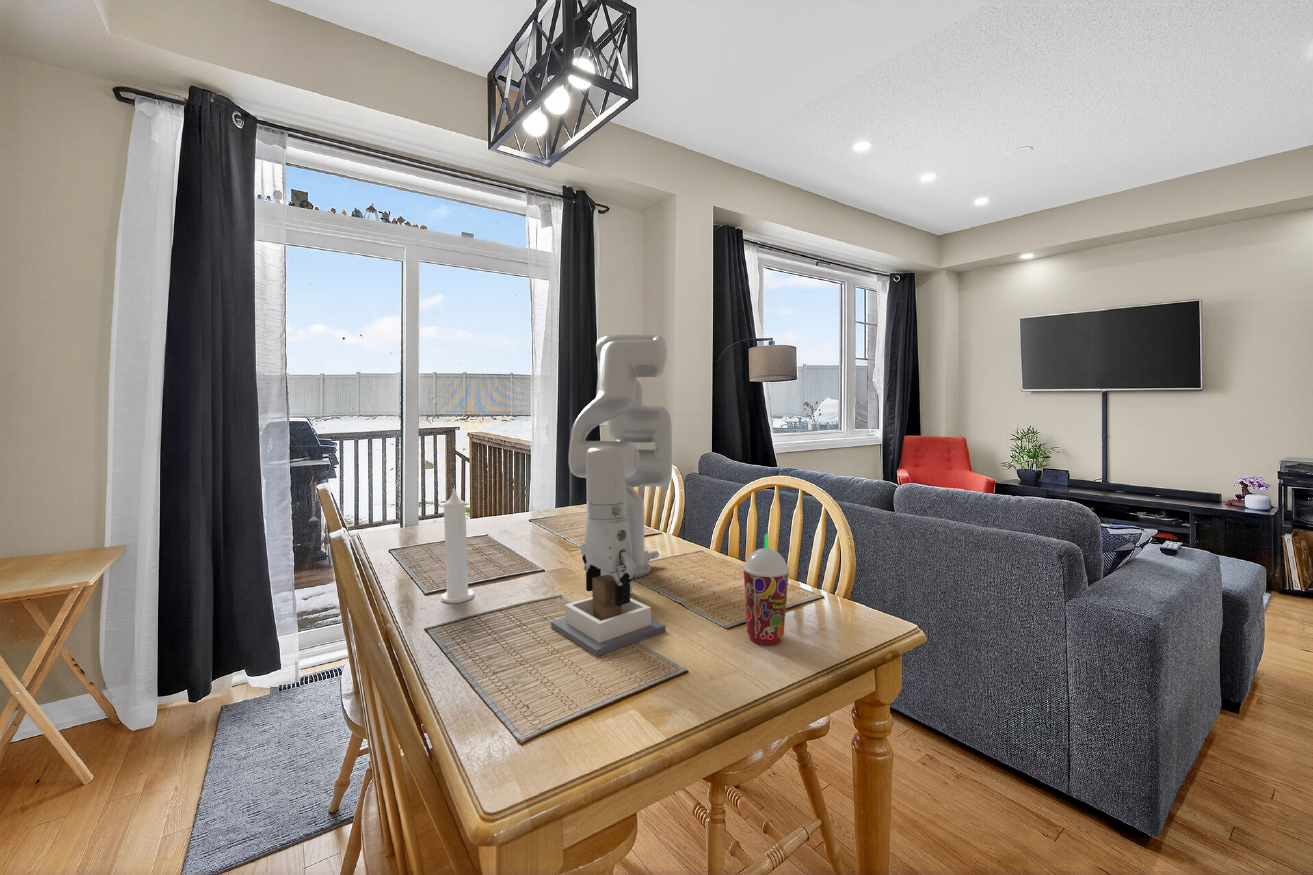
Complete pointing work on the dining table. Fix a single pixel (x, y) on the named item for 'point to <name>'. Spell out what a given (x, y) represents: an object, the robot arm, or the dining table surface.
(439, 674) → the dining table surface
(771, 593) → the smoothie
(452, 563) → the candle
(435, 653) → the dining table surface
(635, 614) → the collar stand
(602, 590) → the block
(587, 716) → the dining table surface
